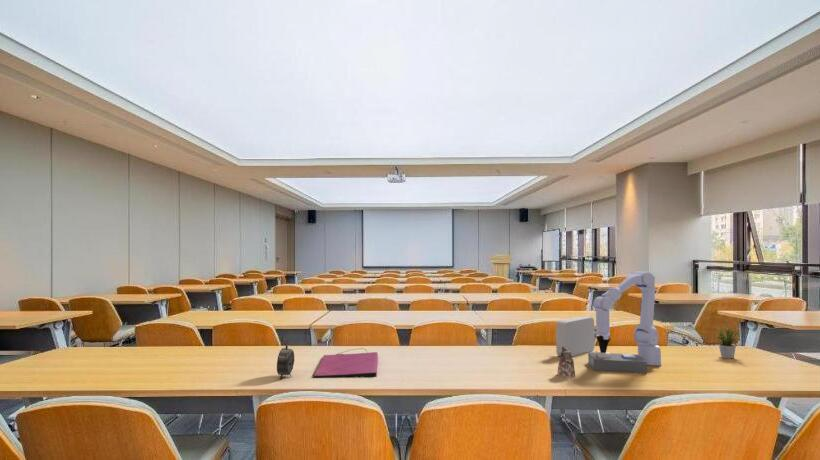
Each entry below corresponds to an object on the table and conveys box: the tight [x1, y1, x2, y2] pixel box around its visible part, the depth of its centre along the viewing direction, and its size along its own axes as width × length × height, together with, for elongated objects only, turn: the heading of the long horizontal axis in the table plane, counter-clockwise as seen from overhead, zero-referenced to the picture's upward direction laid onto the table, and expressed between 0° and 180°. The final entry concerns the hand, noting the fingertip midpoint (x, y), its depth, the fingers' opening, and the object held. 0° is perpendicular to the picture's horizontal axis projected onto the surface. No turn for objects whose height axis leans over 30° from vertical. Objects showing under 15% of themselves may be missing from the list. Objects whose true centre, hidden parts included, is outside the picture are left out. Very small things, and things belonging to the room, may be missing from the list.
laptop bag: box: [312, 348, 379, 379], centre depth 208 cm, size 40×4×27 cm
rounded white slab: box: [555, 316, 596, 358], centre depth 234 cm, size 29×8×18 cm, turn 129°
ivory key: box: [596, 350, 610, 358], centre depth 205 cm, size 5×5×4 cm
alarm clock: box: [276, 338, 295, 381], centre depth 189 cm, size 11×5×16 cm, turn 178°
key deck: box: [587, 351, 648, 375], centre depth 204 cm, size 22×14×5 cm, turn 77°
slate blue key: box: [621, 353, 636, 359], centre depth 203 cm, size 5×5×4 cm
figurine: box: [557, 347, 576, 379], centre depth 192 cm, size 7×7×12 cm
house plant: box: [713, 325, 742, 359], centre depth 224 cm, size 14×14×16 cm
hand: (603, 352), depth 206 cm, fingers closed, pressing on ivory key
